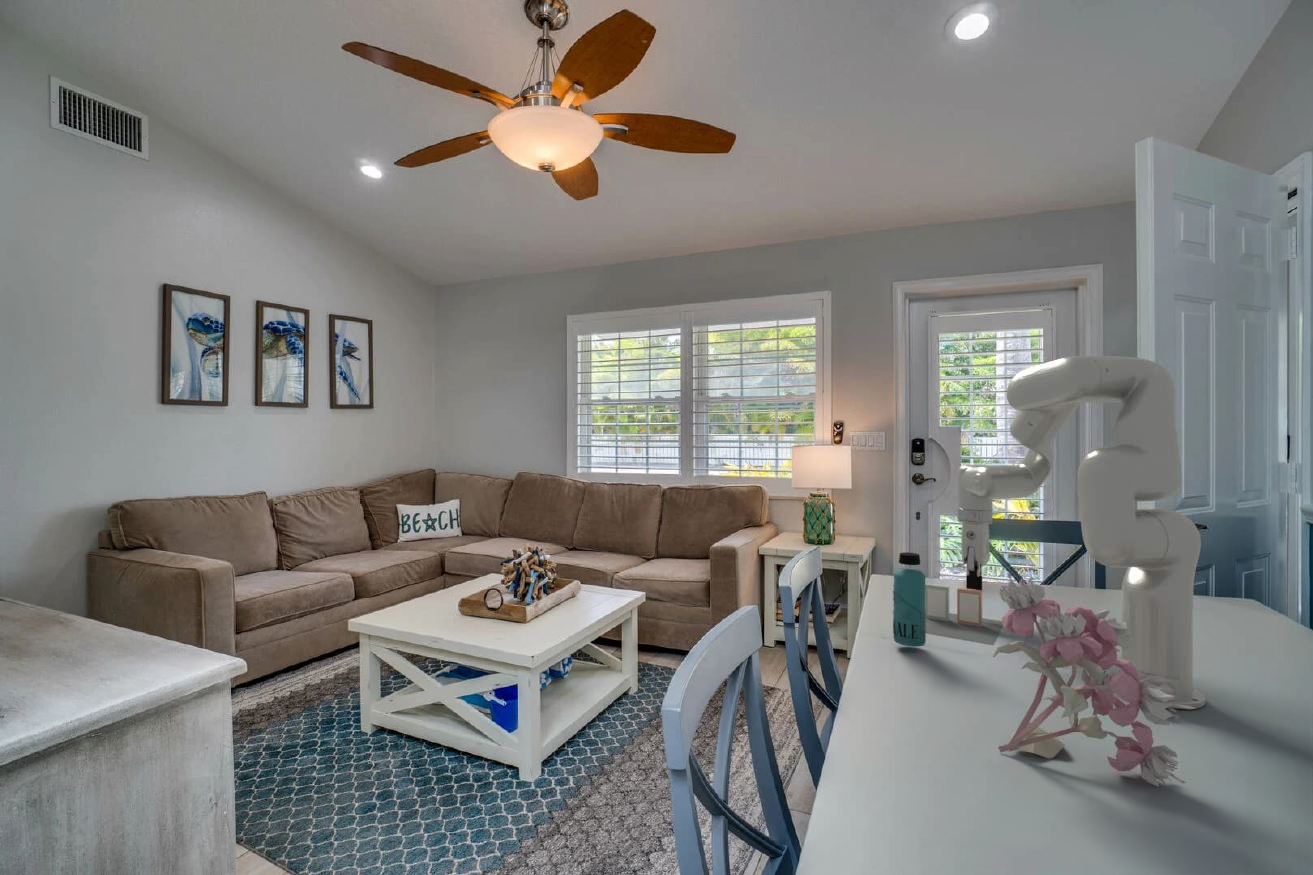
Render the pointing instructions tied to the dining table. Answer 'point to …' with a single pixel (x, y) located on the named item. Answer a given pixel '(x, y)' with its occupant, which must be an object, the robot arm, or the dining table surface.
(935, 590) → the tile
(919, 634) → the beverage bottle
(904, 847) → the dining table surface
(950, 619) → the mat
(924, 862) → the dining table surface
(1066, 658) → the flower
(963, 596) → the tile
